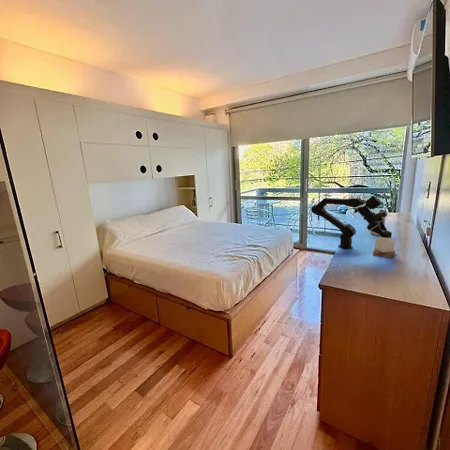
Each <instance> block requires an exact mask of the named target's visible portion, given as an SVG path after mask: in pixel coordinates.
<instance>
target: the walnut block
mask: <svg viewBox="0 0 450 450" xmlns="http://www.w3.org/2000/svg"><path fill="white" fill-rule="evenodd" d="M395 254H396V249H394V250H393V252H384V253H383V252H381V251H378V250H376V249H374V250H373V251H372V256H378V257H383V258H387V259H388V258H389V259H393V258H394V257H395Z"/></svg>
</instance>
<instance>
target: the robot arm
mask: <svg viewBox="0 0 450 450" xmlns="http://www.w3.org/2000/svg"><path fill="white" fill-rule="evenodd" d="M382 204H383V202H382V200H380V198H378V197H376V196H375V195H372V196H370V197H369V198H368V199H367V200H366V199H362V198H360V197H349V198H337V197H336V198H335V197H324V198H323V199H322V200H321V201H319V202H318V203H317V204H314V205H312V206H311V212H312V214H314V215H315V216H319V217H321V218H323V219H325V220H326V221H327V222H329V223H330V224H332V226H335V227H336V228H337V229H339V231H340V232H341V235H340V236H339V238H340V242H339V243H340V244H339V245H338V247H339V248H341V249H344V250H348V249H349V250H350V249H353V248H354V246H353V245H352V243H353V242H352V241H353V236H355V235H356V233H357V230H356V228H355V227H354V226H352V224H350V223H348V224H345V223H344V222H342V221H340V220H339V219H338V218H337V217H335V216H334V215H332V214H331V213H329V212H328V211H327V210H326V206H327V205H337V206H338V205H341V206H346V207H351V208H354V212H353V214H357V213H358V214H359V215H360V216H361V217H363V221H366V222H367V223H368V224H367V226H366V229H367V230H368V231H369V232H370V231H373V232H375V233H377V234H379V235H382V236H385V234H384V233H383V231H388V229H387V227H386V226H385V225H386V224H385V225H384V218H383V217H385V218H387V216H388V211H386V210H384V209H380V210H379V211H378V212H374V211H372V210H375V209H376V208H377V207H379V206H381V205H382ZM382 220H383V221H382ZM379 235H378V236H379Z"/></svg>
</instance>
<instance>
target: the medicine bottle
mask: <svg viewBox="0 0 450 450" xmlns="http://www.w3.org/2000/svg"><path fill="white" fill-rule="evenodd" d="M383 233H384V234H385V236H382V235H378V237H376V238H375V239H374V250H375V249H376V250H378V251H381V252H383V253H384V252H393V250H395V239H392V234H393V233H392V232H391V231H390V230H387V231H383Z"/></svg>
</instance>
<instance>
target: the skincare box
mask: <svg viewBox="0 0 450 450" xmlns="http://www.w3.org/2000/svg"><path fill="white" fill-rule="evenodd" d="M383 218H384V225H386V217H383ZM382 221H383V220H382ZM369 234H370V235H377V236H379V234H377V233H375V232H373V231H370V230H369Z"/></svg>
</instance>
